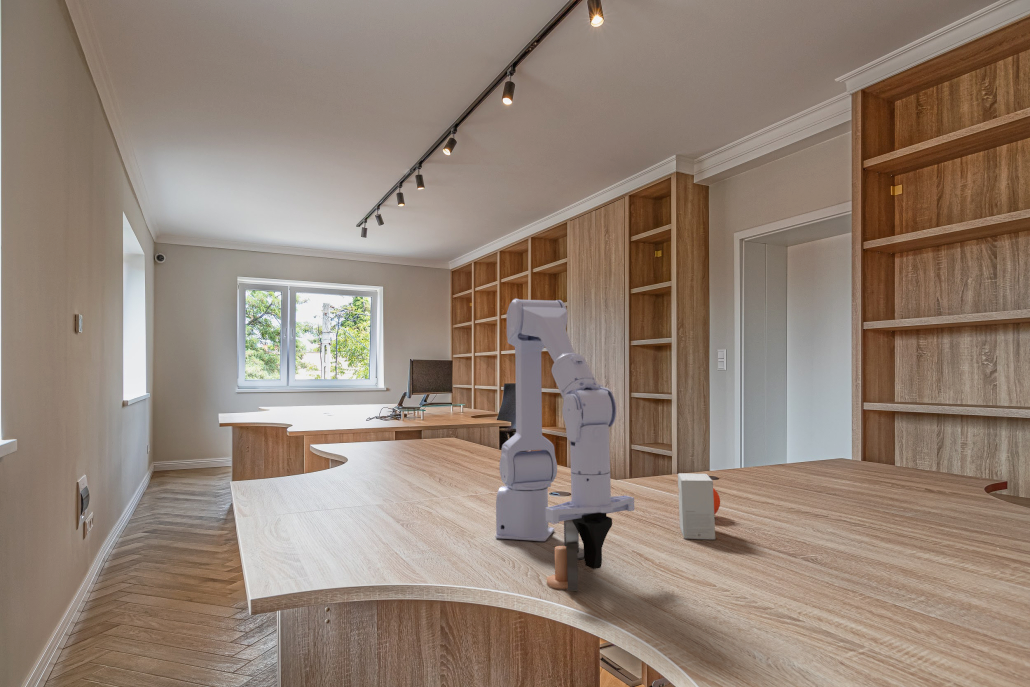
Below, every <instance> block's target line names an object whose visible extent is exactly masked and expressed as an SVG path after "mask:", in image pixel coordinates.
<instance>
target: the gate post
mask: <svg viewBox="0 0 1030 687" xmlns="http://www.w3.org/2000/svg"><path fill="white" fill-rule="evenodd" d="M577 538H578V550H577V558H578V561H580V560H584V548H582V547H580V534H579V532H578V530H577ZM563 544H564V545H563V546H566V521H563Z"/></svg>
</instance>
